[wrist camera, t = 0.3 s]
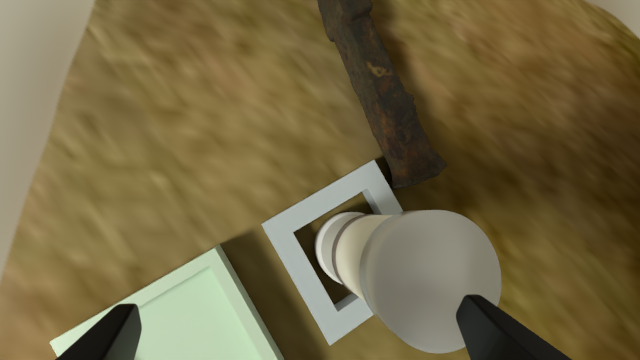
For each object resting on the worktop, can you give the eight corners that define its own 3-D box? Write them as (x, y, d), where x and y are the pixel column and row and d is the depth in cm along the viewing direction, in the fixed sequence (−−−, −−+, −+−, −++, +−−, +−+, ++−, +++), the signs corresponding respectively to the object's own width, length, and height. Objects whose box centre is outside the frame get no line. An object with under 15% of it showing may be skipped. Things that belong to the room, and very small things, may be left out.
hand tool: (427, 176, 26) (463, 167, 21) (387, 193, 25) (416, 188, 20) (343, -27, 27) (361, -77, 22) (300, -17, 26) (310, -67, 21)
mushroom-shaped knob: (390, 257, 24) (523, 300, 12) (335, 294, 23) (421, 383, 11) (358, 200, 24) (458, 185, 12) (301, 234, 23) (349, 256, 11)
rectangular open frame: (425, 266, 25) (436, 269, 23) (325, 337, 23) (329, 345, 21) (367, 162, 25) (374, 159, 23) (261, 223, 23) (261, 224, 21)
